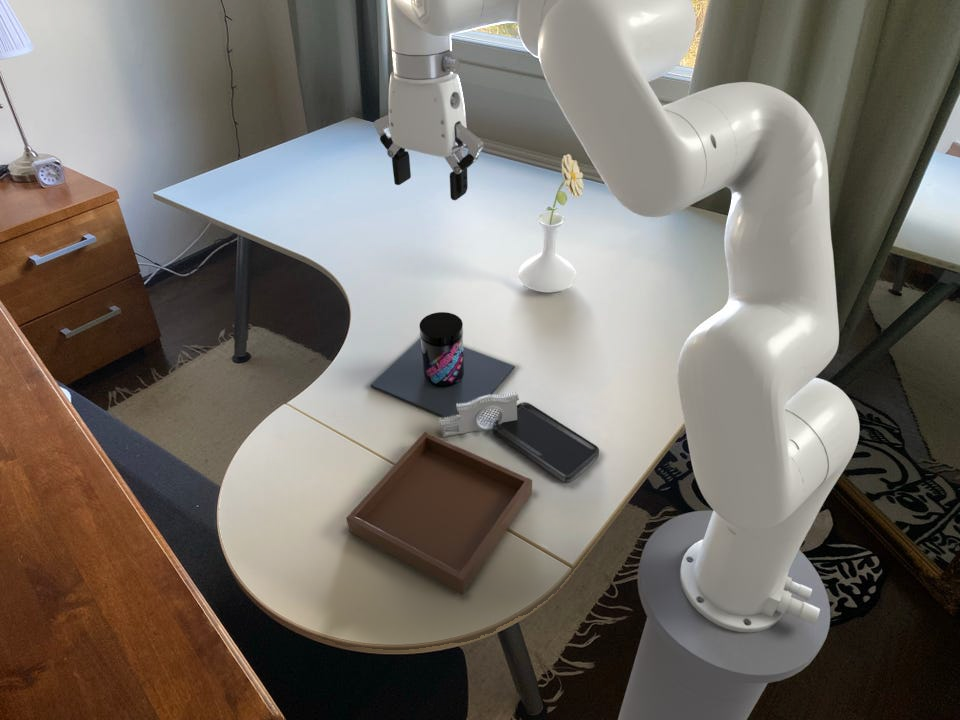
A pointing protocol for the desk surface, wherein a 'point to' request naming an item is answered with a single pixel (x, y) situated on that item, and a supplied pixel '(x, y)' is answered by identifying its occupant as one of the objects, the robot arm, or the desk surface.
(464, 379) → the mat
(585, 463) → the phone
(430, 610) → the desk surface
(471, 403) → the garden wall model
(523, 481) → the tray
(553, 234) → the flower in vase
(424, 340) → the supplement container
